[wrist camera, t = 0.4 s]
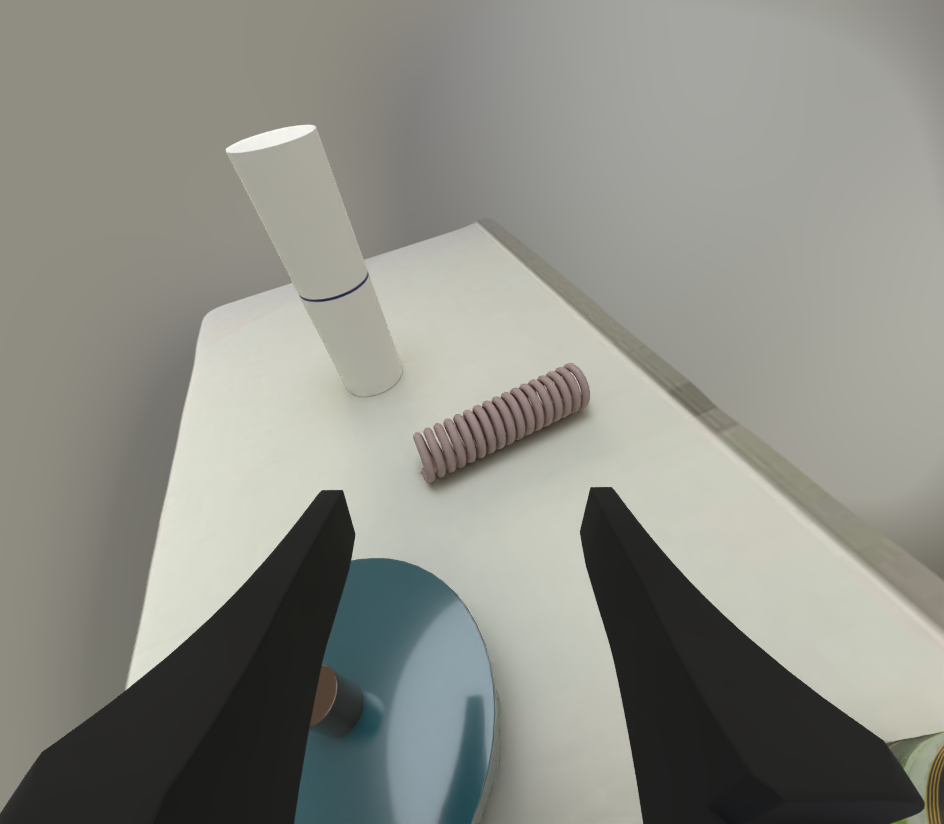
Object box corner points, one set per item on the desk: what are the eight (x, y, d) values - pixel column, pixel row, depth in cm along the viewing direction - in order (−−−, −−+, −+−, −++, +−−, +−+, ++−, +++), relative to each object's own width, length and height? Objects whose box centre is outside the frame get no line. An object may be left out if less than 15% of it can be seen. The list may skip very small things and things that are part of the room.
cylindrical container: (342, 401, 48) (213, 159, 30) (348, 364, 53) (239, 137, 35) (402, 389, 47) (308, 138, 30) (402, 352, 52) (321, 119, 35)
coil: (420, 467, 33) (601, 380, 37) (400, 427, 36) (571, 350, 40) (430, 493, 37) (595, 412, 41) (412, 456, 40) (568, 383, 44)
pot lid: (497, 982, 15) (480, 1030, 12) (123, 937, 17) (22, 966, 14) (497, 562, 26) (488, 526, 22) (268, 567, 28) (231, 536, 25)
